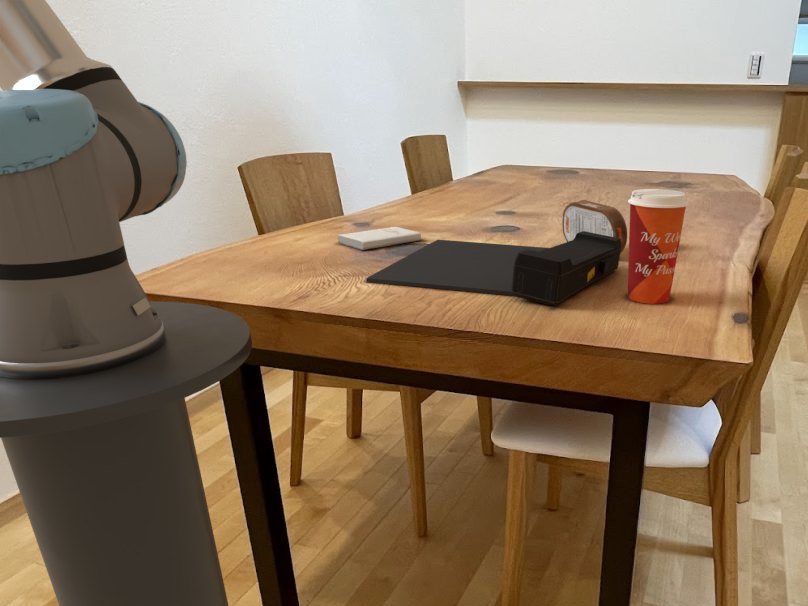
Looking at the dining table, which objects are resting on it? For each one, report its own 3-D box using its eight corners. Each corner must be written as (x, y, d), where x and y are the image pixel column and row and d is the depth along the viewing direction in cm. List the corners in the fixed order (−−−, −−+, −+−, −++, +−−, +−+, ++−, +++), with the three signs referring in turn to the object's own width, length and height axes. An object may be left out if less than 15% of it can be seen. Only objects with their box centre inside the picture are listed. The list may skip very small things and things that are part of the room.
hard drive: (338, 243, 119) (394, 234, 127) (363, 251, 113) (421, 240, 121) (337, 234, 118) (394, 225, 126) (363, 241, 113) (420, 231, 121)
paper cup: (639, 308, 86) (650, 198, 80) (609, 292, 92) (617, 189, 86) (689, 302, 88) (703, 195, 83) (657, 287, 95) (668, 187, 89)
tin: (626, 261, 109) (631, 209, 106) (612, 263, 108) (616, 210, 104) (572, 243, 121) (574, 196, 117) (558, 245, 119) (560, 197, 116)
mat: (366, 282, 96) (365, 278, 95) (437, 242, 120) (437, 239, 120) (526, 297, 90) (526, 292, 89) (567, 252, 114) (567, 249, 114)
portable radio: (563, 310, 85) (627, 275, 105) (569, 264, 82) (634, 237, 103) (509, 297, 88) (582, 265, 108) (514, 252, 85) (587, 228, 106)
